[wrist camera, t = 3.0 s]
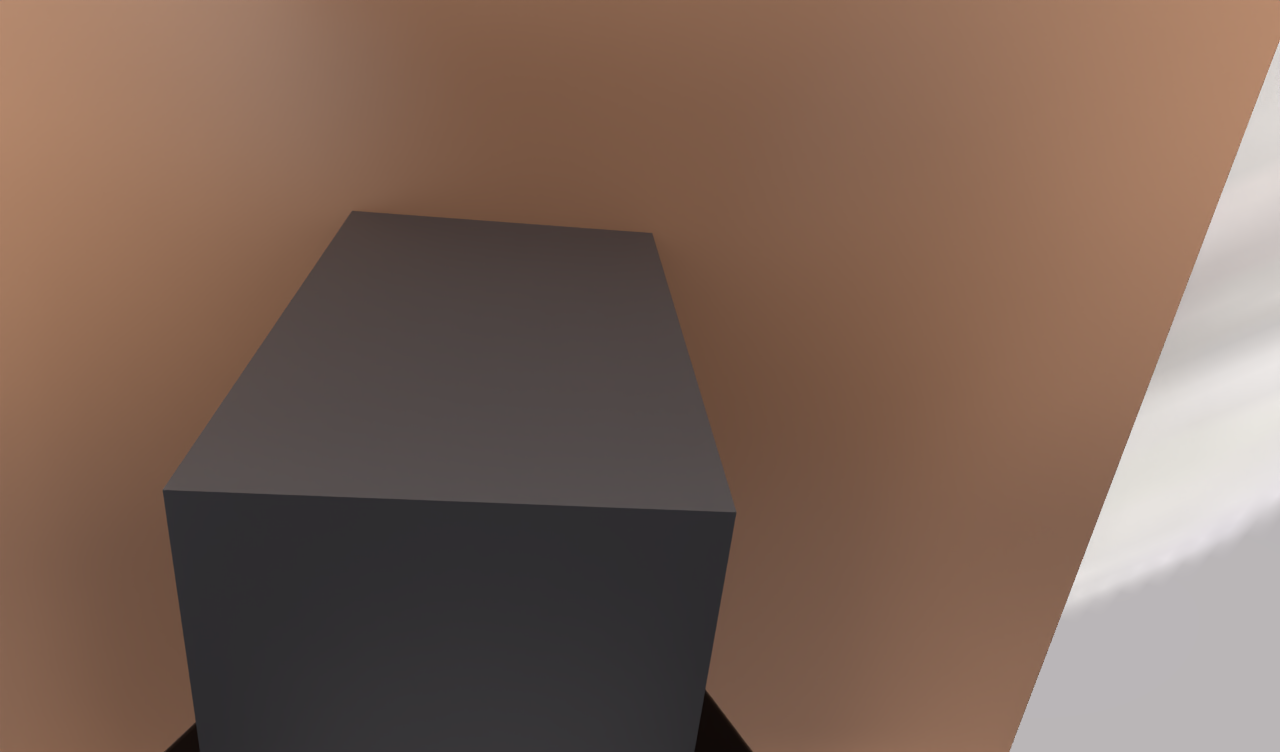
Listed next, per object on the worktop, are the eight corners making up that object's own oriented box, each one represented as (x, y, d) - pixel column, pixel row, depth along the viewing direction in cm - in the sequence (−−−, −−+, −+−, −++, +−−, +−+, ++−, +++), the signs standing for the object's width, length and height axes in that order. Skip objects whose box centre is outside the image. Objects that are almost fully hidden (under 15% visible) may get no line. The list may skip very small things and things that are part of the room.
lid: (861, 872, 15) (1042, 1434, 9) (66, 878, 14) (-271, 1541, 8) (1163, -105, 9) (2162, -129, 3) (-224, -277, 7) (-2402, -801, 2)
